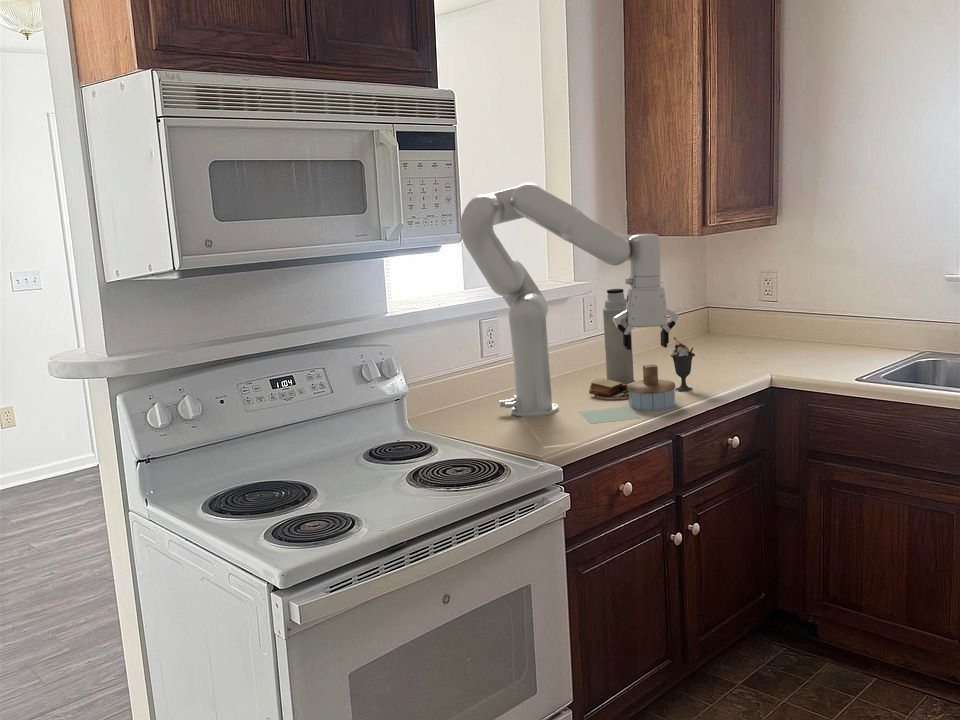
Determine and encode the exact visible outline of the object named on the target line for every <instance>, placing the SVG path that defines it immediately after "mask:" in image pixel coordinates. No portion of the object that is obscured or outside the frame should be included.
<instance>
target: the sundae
mask: <svg viewBox="0 0 960 720" xmlns="http://www.w3.org/2000/svg"><path fill="white" fill-rule="evenodd" d="M672 339H673V340H675V341H676V344H675V345H674V349H673V350H672V353H671V355H670V357H671V358H672V361H673V366H674V369H675V370H674V371H675V373H676V375H677V376H678V377H679V378H681V382H680V383H681V384H680V386H679V387H675V389H674V391H676V390H678V391H677V392H681V391H685V392H691V391H693V390H694V389H693V387H690V386H688V385H687V381H686V379H687V377H688V376H689V375H690V374H691V373H692V371H691V370H692V364H693V363H692V362H693V358H694V357H696V355H695V353H694V352H693V350H694V347H691V349H689V346H687V345H685V344H683V343H682V342H680V341H679V340H678V339H677V337H673V338H672ZM690 390H691V391H690Z"/></svg>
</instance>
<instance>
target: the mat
mask: <svg viewBox="0 0 960 720" xmlns="http://www.w3.org/2000/svg"><path fill="white" fill-rule="evenodd" d="M578 413H579V415H581V417H583V418H584V419H585V420H586V421H587V422H588V423H589V424H591V425H593V424H601V423H611V422H612V423H613V422H620V421H627V420H628V421H629V420H637V419H638V420H639V419H642V417H641V416H640V415H638V414H637V413H635V412H634V411H633V409H630V407H628V406H619V407H610V408H601V409H592V410H584V411H578Z"/></svg>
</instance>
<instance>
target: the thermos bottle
mask: <svg viewBox="0 0 960 720" xmlns="http://www.w3.org/2000/svg"><path fill="white" fill-rule="evenodd" d="M606 293H607V299H605V301H604V308H603V310H602V313H603V314H602V315H603V316H602V317H603V318H602V319H603V332H604V333H603V335H604V350H605V365H606V367H605V368H606V379H608V380H612V381H616V382H621V383H622V384H625V383H627V384H629V383H630V382H635V379H634V377H635V376H634V361H633V343H632V341H633V340H632V330H631V331H630V332H629V334H630V335H631V349H630V350H628V349H626V348H625V346H624V345H623V333H622V332H621V331H620V330H619V329H618V328H617V327H616V325H615V323H614V321H613V317H615V316H617V315H618V314H620V313H622V312H624V311H625V310H626V300H627V298H625V293H624V289H623V288H611V289H607V290H606ZM620 323H621V325H622V326H623V327H624V326H625V325H626V320H625V318H623V319H621V320H620Z"/></svg>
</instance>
